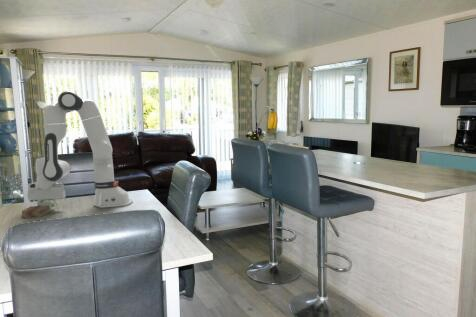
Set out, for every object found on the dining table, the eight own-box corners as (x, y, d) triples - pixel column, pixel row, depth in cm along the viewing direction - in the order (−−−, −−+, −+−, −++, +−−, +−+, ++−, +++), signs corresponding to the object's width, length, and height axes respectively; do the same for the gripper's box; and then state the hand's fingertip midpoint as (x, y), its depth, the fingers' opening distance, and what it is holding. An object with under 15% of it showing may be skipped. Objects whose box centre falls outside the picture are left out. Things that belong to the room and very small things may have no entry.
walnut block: (49, 212, 208) (49, 205, 207) (41, 217, 198) (40, 210, 197) (31, 213, 207) (31, 206, 207) (22, 218, 197) (21, 210, 197)
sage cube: (54, 208, 215) (53, 200, 215) (50, 210, 210) (50, 202, 210) (45, 209, 215) (45, 200, 214) (41, 211, 210) (41, 202, 209)
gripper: (66, 181, 214) (68, 204, 216) (30, 183, 213) (32, 206, 215) (61, 183, 208) (64, 207, 210) (25, 185, 207) (27, 209, 209)
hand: (48, 207), depth 212 cm, fingers open, 5 cm apart
